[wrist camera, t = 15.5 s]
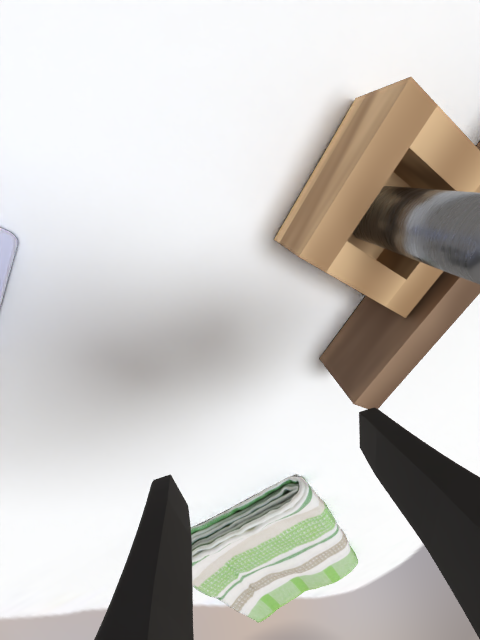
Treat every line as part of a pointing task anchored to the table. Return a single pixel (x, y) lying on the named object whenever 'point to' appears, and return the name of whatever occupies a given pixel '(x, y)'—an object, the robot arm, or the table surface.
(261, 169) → the table surface
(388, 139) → the block
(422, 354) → the wooden plank
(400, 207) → the dowel
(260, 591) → the dish towel
